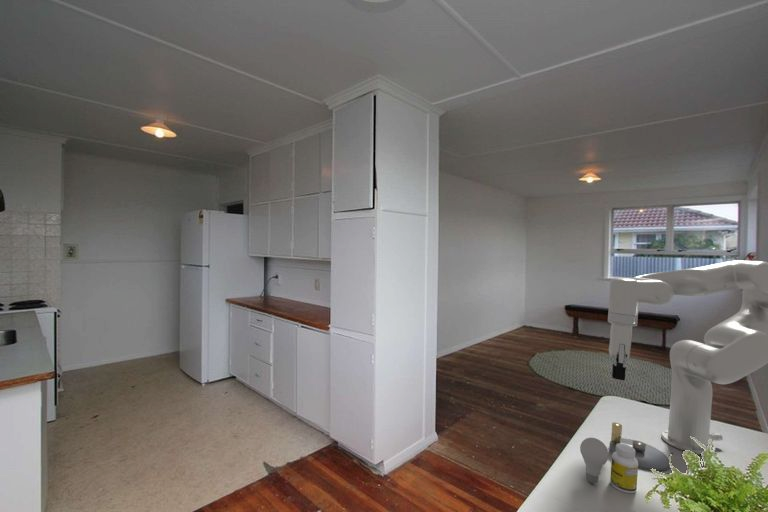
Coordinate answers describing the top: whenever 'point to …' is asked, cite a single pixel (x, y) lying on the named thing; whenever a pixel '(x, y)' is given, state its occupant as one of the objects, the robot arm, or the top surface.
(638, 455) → the dial plate
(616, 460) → the supplement bottle
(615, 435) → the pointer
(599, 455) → the lightbulb
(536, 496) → the top surface
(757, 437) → the top surface
